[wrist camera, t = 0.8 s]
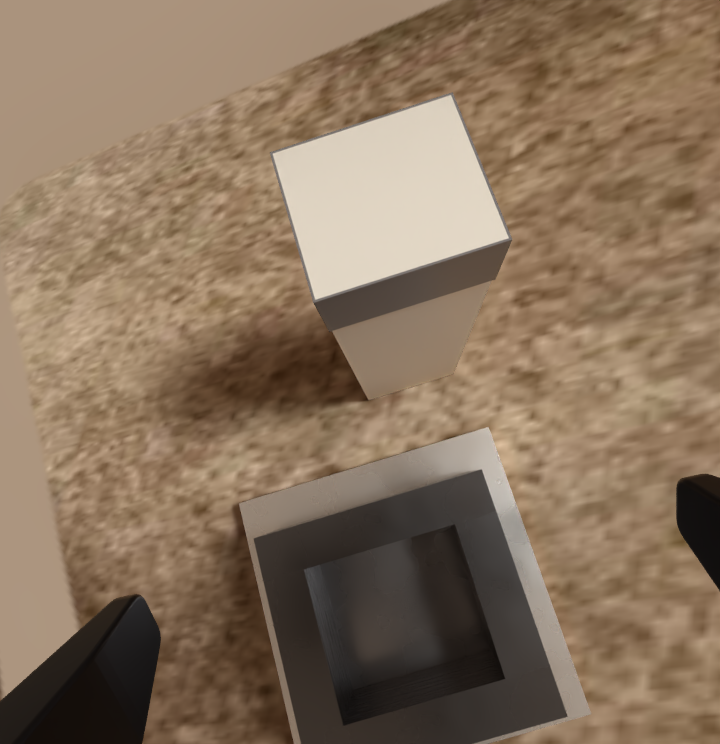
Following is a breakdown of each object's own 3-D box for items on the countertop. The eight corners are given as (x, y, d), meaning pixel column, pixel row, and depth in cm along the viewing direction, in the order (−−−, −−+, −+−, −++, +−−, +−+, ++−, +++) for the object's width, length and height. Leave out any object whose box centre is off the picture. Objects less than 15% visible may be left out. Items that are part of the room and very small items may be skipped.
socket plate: (582, 702, 19) (625, 758, 15) (310, 780, 20) (286, 853, 16) (484, 429, 22) (501, 418, 18) (246, 502, 22) (211, 507, 18)
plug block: (454, 374, 22) (511, 240, 10) (367, 401, 23) (313, 303, 10) (429, 302, 23) (452, 92, 11) (345, 329, 23) (269, 152, 11)
